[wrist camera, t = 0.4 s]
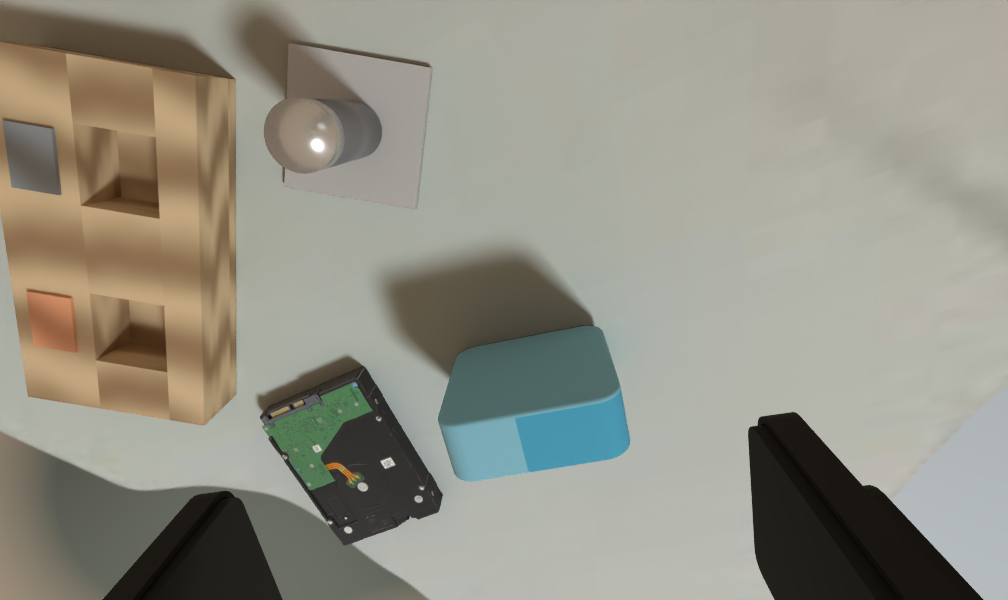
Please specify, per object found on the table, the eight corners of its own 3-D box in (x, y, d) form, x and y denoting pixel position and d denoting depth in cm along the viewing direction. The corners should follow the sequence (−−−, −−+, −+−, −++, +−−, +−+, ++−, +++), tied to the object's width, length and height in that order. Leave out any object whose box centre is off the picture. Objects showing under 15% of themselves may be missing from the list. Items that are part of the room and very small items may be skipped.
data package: (470, 396, 47) (451, 486, 36) (457, 349, 46) (433, 428, 34) (609, 370, 46) (634, 457, 34) (599, 321, 44) (623, 394, 33)
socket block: (41, 45, 39) (-30, 37, 34) (235, 79, 39) (192, 75, 34) (77, 368, 48) (24, 398, 43) (236, 394, 48) (202, 427, 43)
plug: (328, 95, 39) (264, 92, 29) (384, 105, 39) (338, 104, 30) (325, 153, 40) (263, 167, 31) (379, 162, 40) (333, 179, 31)
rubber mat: (291, 43, 38) (288, 42, 38) (432, 68, 39) (430, 67, 38) (287, 185, 42) (284, 187, 41) (417, 208, 42) (415, 209, 41)
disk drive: (446, 490, 51) (364, 361, 47) (442, 511, 49) (355, 376, 44) (353, 526, 53) (266, 405, 49) (344, 548, 51) (251, 423, 46)
